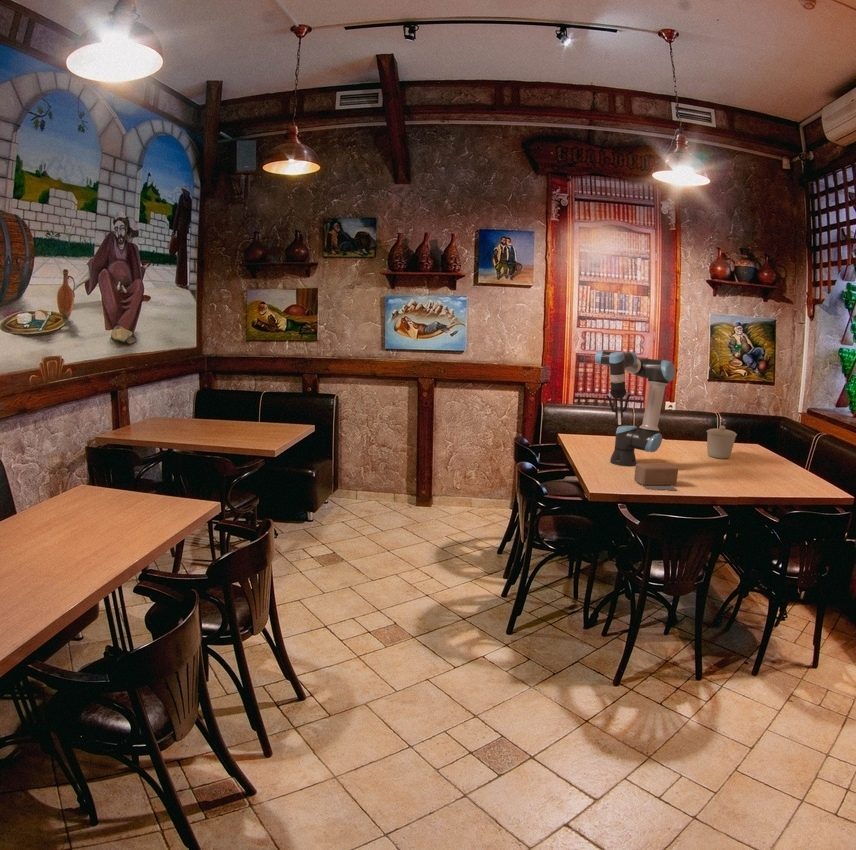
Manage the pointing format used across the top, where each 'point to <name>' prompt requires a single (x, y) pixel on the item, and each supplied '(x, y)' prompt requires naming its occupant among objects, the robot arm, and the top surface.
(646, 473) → the wooden block
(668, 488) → the mat
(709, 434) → the canister
